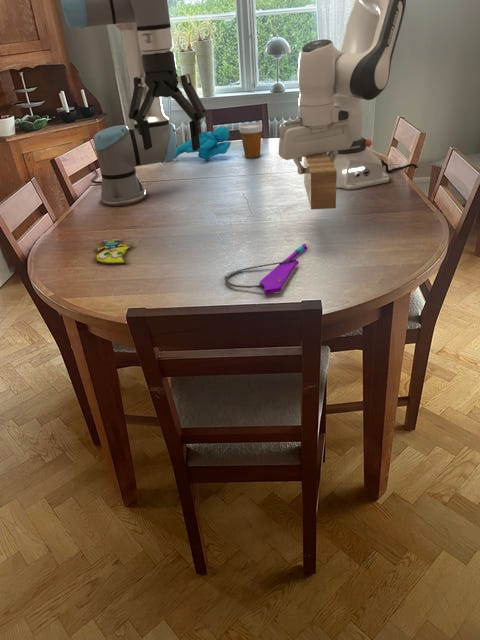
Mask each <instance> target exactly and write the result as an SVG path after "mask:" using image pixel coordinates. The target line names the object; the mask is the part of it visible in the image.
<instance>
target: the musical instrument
mask: <svg viewBox="0 0 480 640" xmlns="http://www.w3.org/2000/svg"><path fill="white" fill-rule="evenodd" d="M306 250H308V246H307V244H306V243H303V244H301V245H300V246H299V247H298V248H297V249H295V250H294V252H292V254H290V255H289V256H288V257H286V258H285V259H284V260H282V261H279V262H278V261H277V262H273V263H267V264H261V265H255V266H249V267H245V268H241V269H238V270H236V271H234V272H231V273H230V274H228V275H226V276H225V277H224V282H225V283H226V285H227V286H230V287H234V288H243V289H244V288H245V289H252V288H262V289H263V290H264V295H265V296H267V295H271V294H277V293H281V292H282V291H283V288H284V287H285V285H286V284H287V282H288V280H290V278H291V276H292V274H293V273H294V271H295V270H296V268H297V267H298V265H299V264H300V262H299V260H298V259H296V258H297V257H298V256H299V255H300V254H302V253H303V252H304V251H306ZM275 265H276V267H274V268H273V269H272V270H271V271H270V272H269V273H268V274H267V275H265V276H264V277H263V278H262V279H261V280H259V284H258V285H256V284H255V285H253V284H252V285H239V284H234V283H232V282H230V281H229V280H228V279H229V278H230V277H232V276H233V275H235V274H237V273H240V272H242V271H247V270H251V269H256V268H257V269H258V268H262V267H268V266H275Z"/></svg>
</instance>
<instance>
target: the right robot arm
mask: <svg viewBox="0 0 480 640" xmlns="http://www.w3.org/2000/svg"><path fill="white" fill-rule="evenodd" d="M406 6H407V0H355V1H354V3H353V6H352V9H351V12H350V14H349V17H348V19H347V21H346V25H345V31H344V33H345V34H344V35H343V40H342V45H341V48H340V49H338V48H336V47H335V46H334V43H333V41H332V40H330V39H327V38H326V39H317V40H313V41H309V42H307V43H305V44H304V45H303V46H302V47H301V49H300V52H299V56H298V67H297V70H298V71H297V85H298V89H299V98H298V117H297V118H293V119H290V120H289V119H287V120H284V121H283V123H281V124H280V126H279V127H278V136H279V140H278V155H279V157H280V158H281V159H283V160H286V161H289V160H293V162H294V164H295V166H296V167H297V174H299V175H304V174H305V167H304V165H302V163H301V162H303V158H304V157H306V156H311V155H316V154H321V153H326V152H327V154H328V156H329V158H330V159H331V161H332V163H333V165H334V167H335V169H336V171H337V181H336V189H337V188H338V189H339V188H341V189H346V190H356V189H361V188H366V187H371V186H376V185H380V184H385V183H389V182H390V176H389V175H388V174H391V173H393V172H396V171H400V170H401V171H402V170H405V169H407V168H410V167H412V168H414V169H419V166H418V165H417V164H415V163H408V164H405V165H402V166H398V167H393V168H391V169H389V165H388V163H387V162H385V160H384V159H382V158H379V157H377V156H376V155H375V154H373V152H371V151H370V150H368V148H370V147H371V146H373V141H372V140H371V139H368V138H367V139H366V138H364V137H363V135H362V134H363V118H364V111H363V106H362V100H365V101H371V100H374V99H376V98H377V97H378V96H379V95H380V94H382V92H383V91H384V90H385V89H386V87H387V85H388V83H389V79H390V75H391V65H392V59H393V55H394V52H395V49H396V46H397V42H398V38H399V35H400V31H401V27H402V24H403V19H404V15H405V11H406ZM384 167H385V171H384ZM387 173H388V174H387Z"/></svg>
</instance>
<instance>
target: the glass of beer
mask: <svg viewBox="0 0 480 640" xmlns="http://www.w3.org/2000/svg"><path fill="white" fill-rule="evenodd" d="M262 131H263V126H262V124H261V123H245V124H241V125H240V126H239V133H240V137H241V142H242V147H243V152H244V157H245V158H248V159H249V158H251V159H252V158H253V159H254V158H258V157H260V156H261V144H262Z"/></svg>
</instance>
